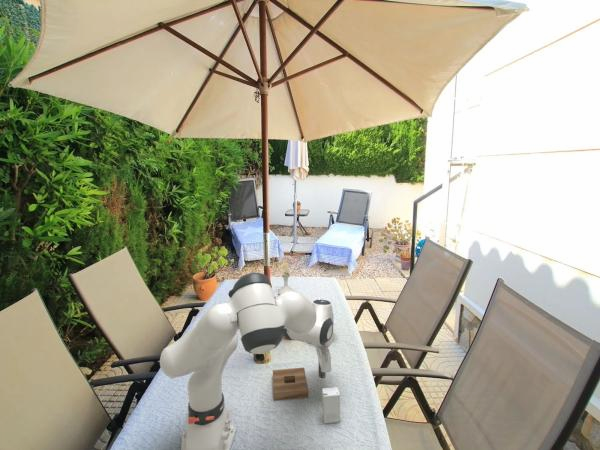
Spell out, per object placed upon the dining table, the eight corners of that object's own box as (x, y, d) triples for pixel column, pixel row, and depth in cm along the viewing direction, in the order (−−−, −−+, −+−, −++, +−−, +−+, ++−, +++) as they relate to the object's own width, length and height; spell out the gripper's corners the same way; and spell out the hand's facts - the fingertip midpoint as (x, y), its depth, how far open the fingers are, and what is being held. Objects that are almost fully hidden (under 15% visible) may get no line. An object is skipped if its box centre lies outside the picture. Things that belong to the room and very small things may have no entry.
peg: (326, 378, 134) (326, 356, 132) (319, 378, 134) (319, 357, 131) (324, 373, 137) (324, 352, 135) (317, 373, 136) (317, 352, 134)
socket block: (308, 397, 131) (308, 389, 130) (273, 400, 130) (273, 393, 129) (304, 374, 145) (304, 367, 144) (273, 377, 143) (272, 370, 143)
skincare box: (337, 413, 123) (338, 385, 120) (340, 423, 118) (340, 394, 116) (321, 415, 122) (321, 387, 119) (323, 424, 118) (323, 396, 115)
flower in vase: (276, 292, 230) (275, 259, 225) (291, 290, 234) (290, 257, 228) (281, 300, 218) (279, 264, 213) (297, 297, 222) (296, 262, 216)
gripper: (335, 352, 121) (335, 383, 125) (324, 323, 141) (324, 351, 144) (318, 353, 121) (318, 385, 124) (310, 324, 141) (310, 353, 144)
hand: (322, 367), depth 134 cm, fingers closed on peg, 3 cm apart
